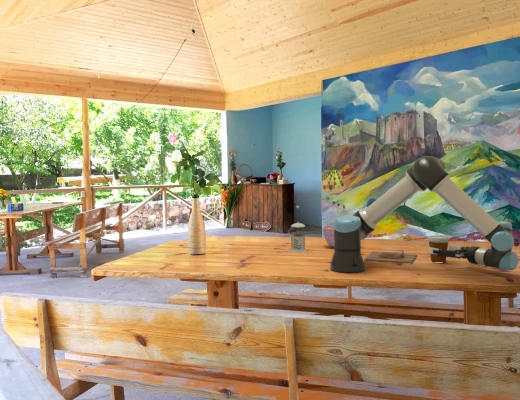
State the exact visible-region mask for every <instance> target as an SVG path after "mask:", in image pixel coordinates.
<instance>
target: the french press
mask: <svg viewBox="0 0 520 400" xmlns="http://www.w3.org/2000/svg"><path fill="white" fill-rule="evenodd" d="M295 208H296V209H299V208H300V205H296V207H295ZM305 227H306V225H305V224H304V223H301V222H296V223H293V224H291V225H290V228H289V229H288V231H287V233H290V232H291V231H294V230H295V228H297V229H299V228H305ZM291 234H292V235H290V234H287V237H288V239H289V240H290V243H291V244H290V245H291V246H290V247H291V248H290V249H289V251H290V252H293V253H304V252H307V251H308V249H307V248H306V235H305V232H303V231H301V232H300V231H295V232H291Z"/></svg>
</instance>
